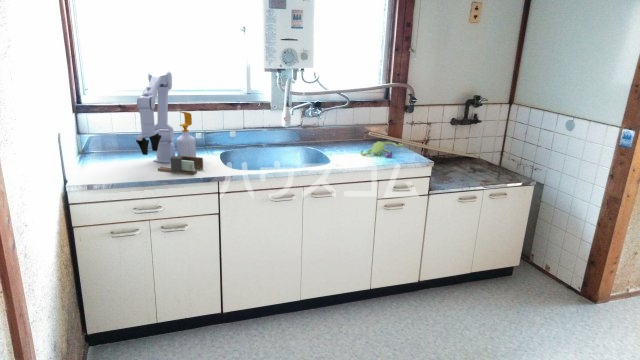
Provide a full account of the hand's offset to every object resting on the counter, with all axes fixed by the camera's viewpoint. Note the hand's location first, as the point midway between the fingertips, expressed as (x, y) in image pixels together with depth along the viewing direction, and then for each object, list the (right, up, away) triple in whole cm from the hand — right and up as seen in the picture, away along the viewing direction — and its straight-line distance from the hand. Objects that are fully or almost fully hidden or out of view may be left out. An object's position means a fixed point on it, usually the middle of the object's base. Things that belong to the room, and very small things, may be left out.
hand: (150, 152), depth 209 cm
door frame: (+12, -8, +8) cm, 16 cm away
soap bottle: (+9, -2, +27) cm, 29 cm away
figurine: (+113, +3, +55) cm, 126 cm away
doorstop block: (+11, -8, +5) cm, 14 cm away
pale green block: (+16, -8, +3) cm, 18 cm away
